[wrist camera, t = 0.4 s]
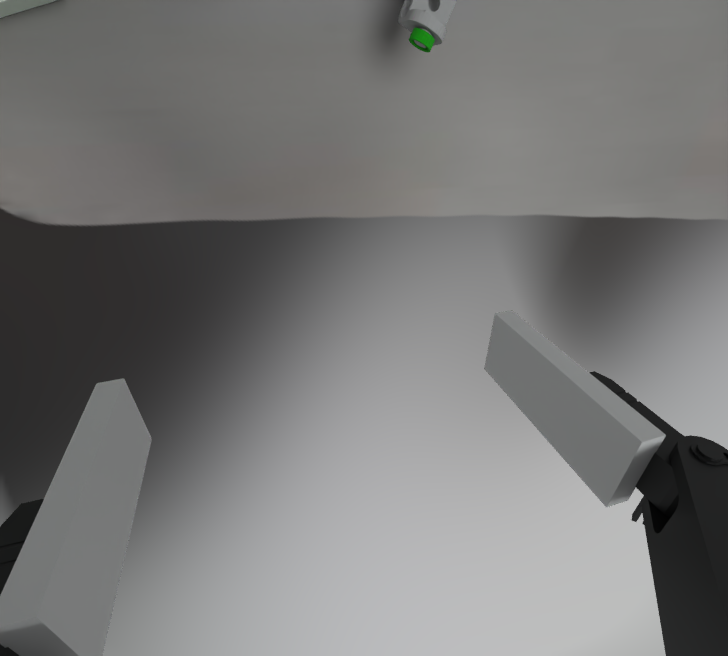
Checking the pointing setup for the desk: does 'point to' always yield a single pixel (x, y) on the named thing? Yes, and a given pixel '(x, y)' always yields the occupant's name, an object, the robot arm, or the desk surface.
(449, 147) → the desk surface
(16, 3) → the tray
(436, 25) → the mechanical component
